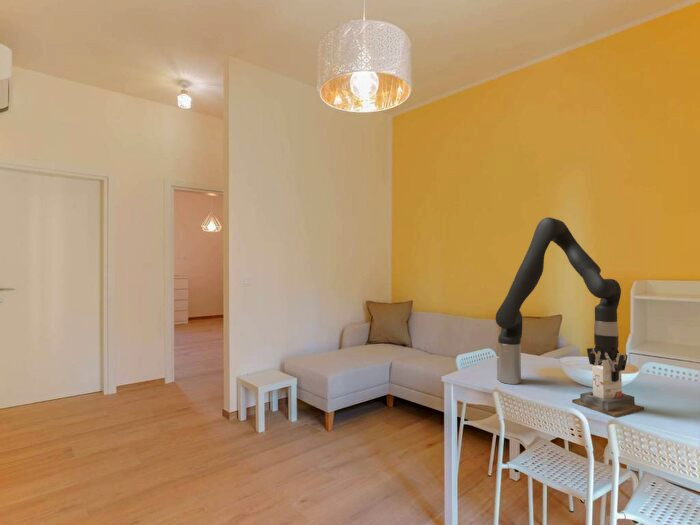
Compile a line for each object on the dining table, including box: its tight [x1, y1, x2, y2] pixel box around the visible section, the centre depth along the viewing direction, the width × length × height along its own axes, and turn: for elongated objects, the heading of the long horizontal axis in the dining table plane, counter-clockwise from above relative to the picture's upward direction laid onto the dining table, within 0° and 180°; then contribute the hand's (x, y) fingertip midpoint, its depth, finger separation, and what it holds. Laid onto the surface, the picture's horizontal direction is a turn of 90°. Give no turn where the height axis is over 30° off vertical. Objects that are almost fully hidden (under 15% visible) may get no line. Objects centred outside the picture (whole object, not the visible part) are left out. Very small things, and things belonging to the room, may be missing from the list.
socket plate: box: [571, 390, 645, 418], centre depth 145 cm, size 16×16×4 cm
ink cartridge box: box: [591, 358, 623, 400], centre depth 146 cm, size 9×5×15 cm, turn 106°
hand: (606, 379), depth 146 cm, fingers closed on ink cartridge box, 5 cm apart
